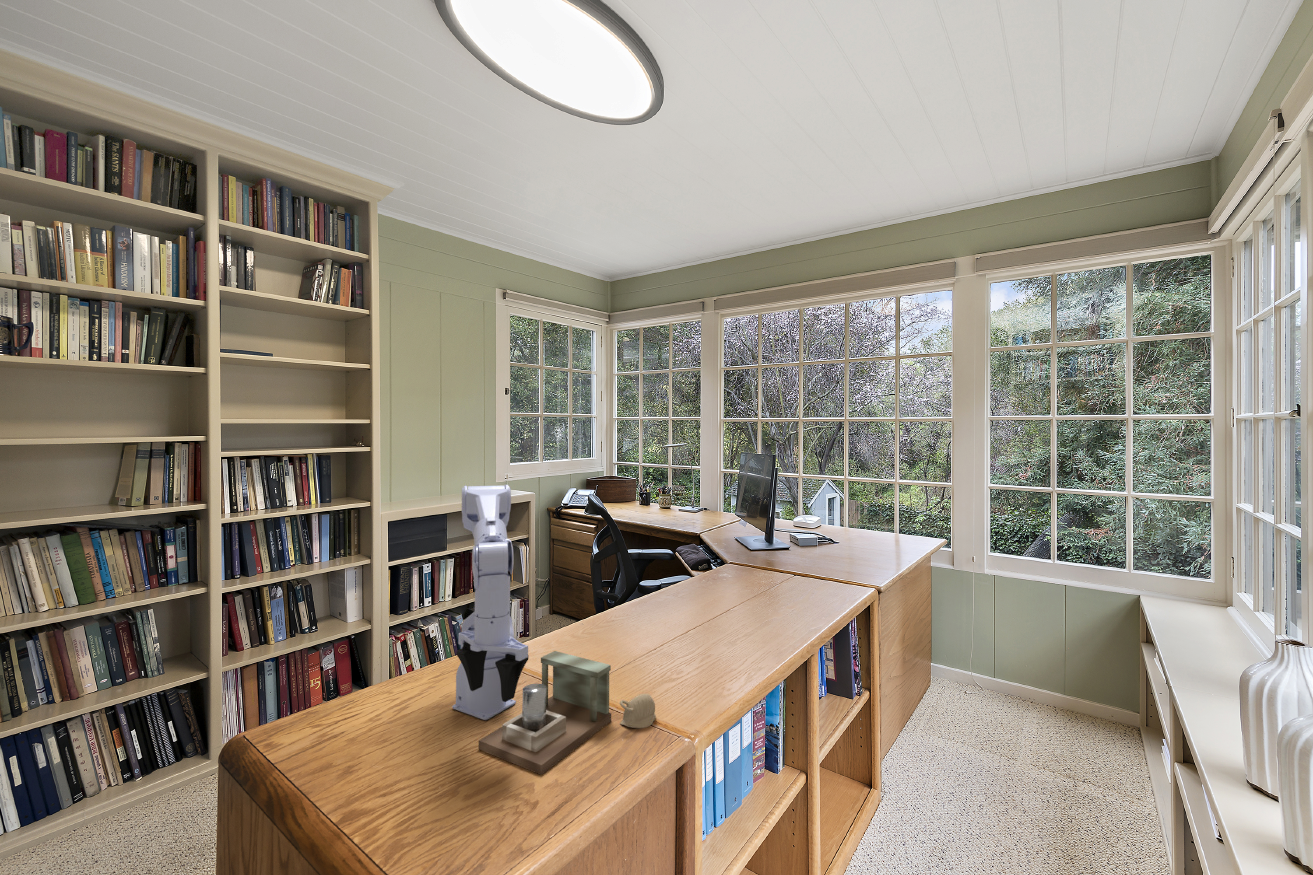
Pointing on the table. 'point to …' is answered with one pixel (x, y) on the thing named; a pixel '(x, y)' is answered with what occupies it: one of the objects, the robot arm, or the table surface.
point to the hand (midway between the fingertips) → (492, 693)
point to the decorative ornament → (639, 711)
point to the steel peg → (534, 707)
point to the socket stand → (557, 715)
